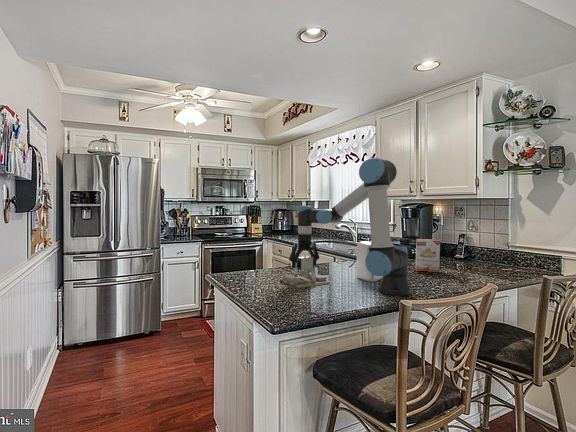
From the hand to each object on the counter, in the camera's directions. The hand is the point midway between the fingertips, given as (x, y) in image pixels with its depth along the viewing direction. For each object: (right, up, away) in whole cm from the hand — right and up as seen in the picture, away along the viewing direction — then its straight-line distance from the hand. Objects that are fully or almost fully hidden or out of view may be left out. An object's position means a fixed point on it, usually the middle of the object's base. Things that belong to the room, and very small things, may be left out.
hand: (304, 272), depth 190 cm
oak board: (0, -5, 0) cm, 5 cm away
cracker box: (+81, -5, +32) cm, 87 cm away
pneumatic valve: (0, -2, 0) cm, 2 cm away
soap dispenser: (+37, -5, +10) cm, 39 cm away
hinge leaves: (0, -4, 0) cm, 4 cm away
